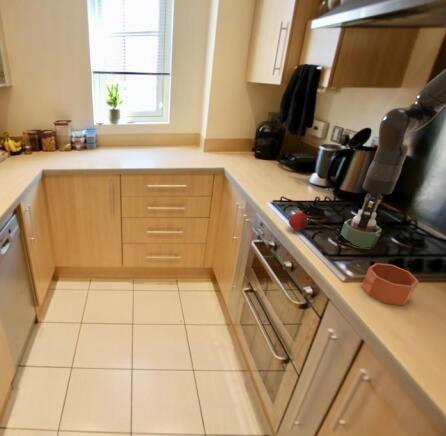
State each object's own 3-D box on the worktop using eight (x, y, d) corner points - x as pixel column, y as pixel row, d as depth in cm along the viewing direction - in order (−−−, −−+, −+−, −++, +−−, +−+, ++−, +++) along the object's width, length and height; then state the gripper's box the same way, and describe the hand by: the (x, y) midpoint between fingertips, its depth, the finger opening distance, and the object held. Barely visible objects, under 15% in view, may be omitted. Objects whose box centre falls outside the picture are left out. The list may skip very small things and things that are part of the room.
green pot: (366, 235, 110) (372, 220, 107) (379, 250, 102) (386, 234, 99) (336, 233, 112) (341, 218, 109) (347, 247, 103) (352, 231, 101)
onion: (295, 225, 117) (301, 206, 113) (308, 233, 112) (314, 213, 108) (283, 228, 115) (288, 208, 111) (295, 236, 110) (301, 215, 107)
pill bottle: (371, 246, 103) (384, 216, 98) (351, 245, 104) (362, 215, 99) (361, 237, 109) (373, 208, 104) (342, 236, 110) (352, 207, 104)
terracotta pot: (395, 283, 87) (403, 265, 84) (415, 307, 79) (425, 288, 76) (356, 279, 89) (364, 261, 86) (372, 302, 81) (381, 283, 78)
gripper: (395, 185, 89) (374, 236, 97) (400, 172, 98) (380, 219, 106) (363, 179, 93) (345, 228, 101) (370, 167, 103) (353, 213, 110)
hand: (363, 223), depth 103 cm, fingers open, 6 cm apart
